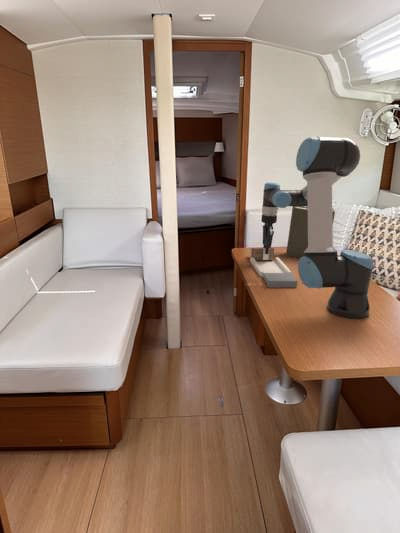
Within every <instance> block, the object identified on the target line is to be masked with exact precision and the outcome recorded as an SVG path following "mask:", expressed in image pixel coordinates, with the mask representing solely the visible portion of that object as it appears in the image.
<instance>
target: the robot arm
mask: <svg viewBox="0 0 400 533" xmlns="http://www.w3.org/2000/svg"><path fill="white" fill-rule="evenodd" d="M360 161H361V151H360V147H359V146H358V144H357V143H356V142H354V141H353V140H352V139H350V138H346V137H324V136H321V137H320V136H316V137H307V138H305V139H304V140H303V141H302V142H301V144H300V145H299V148H298V150H297V153H296V159H295V165H296V168H297V171H300V172H302V178H303V179H304V180H305V181H306V185H305V186H304V187H303V188H302V189H281V184H280V183H278V182H266V183H264V186H263V187H264V188H263V194H262V195H263V196H262V206H261V220H260V222H262V223H263V224H264V225H262V245H263V247H262V248H263V260H262V261H269V260H268V258H269V248H272V243H273V239H274V238H273V237H274V234H275V231H274V226H273V224H276V223H277V221H278V215H277V214H278V211H279V209H284V208H285V209H286V208H287V207H293V206H304V207H308V248H307V249H306V250H305V251H304V256H303V257H301V258H299V260H298V262H297V272H298V276H299V279H300V281H301V283H302V284H303V285H304V287H306V288H309V289H319V290H320V289H323V288H334V289H333V291H332V293H331V295H330V297H329V299H328V301H327V306H326V307H327V310H329V311H330V312H331V313H332V314H334V315H337V316H339V317H341V318H342V317H343V318H346V319H354V320H355V319H356V320H358V319H364V318H367V317H368V316H369V314H370V301H369V298H368V294H369V289H370V288H369V287H370V283H371V277H372V272H373V269H374V268H373V267H374V259H373V257H371V256H370V255H369V254H366V253H364V252H361V251H357V250H354V249H353V250H351V249H342V250H341V251H340V252H339V254H340V255H338V250H337V249H336V248H335V247H334V240H333V237H334V236H333V234H334V233H333V231H334V230H333V227H334V221H332V209H333V185H334V184H336V183H337V182H338V181H339V180H340V179H341V178H344V177H345V178H346V177H347V176H350V175H351V173H353V171H355V170H356V168H357V167H358V165H359V164H360Z"/></svg>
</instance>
